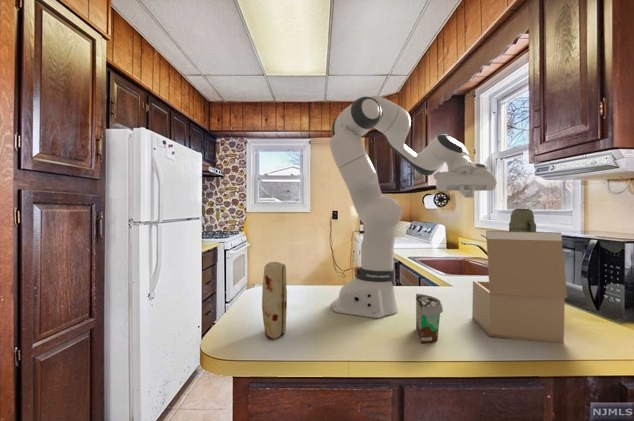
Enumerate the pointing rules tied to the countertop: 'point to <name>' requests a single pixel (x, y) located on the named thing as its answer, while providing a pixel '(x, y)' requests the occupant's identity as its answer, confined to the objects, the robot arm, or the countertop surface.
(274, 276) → the food model
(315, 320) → the countertop surface
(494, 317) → the carton
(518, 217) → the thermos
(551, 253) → the flap
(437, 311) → the food container
